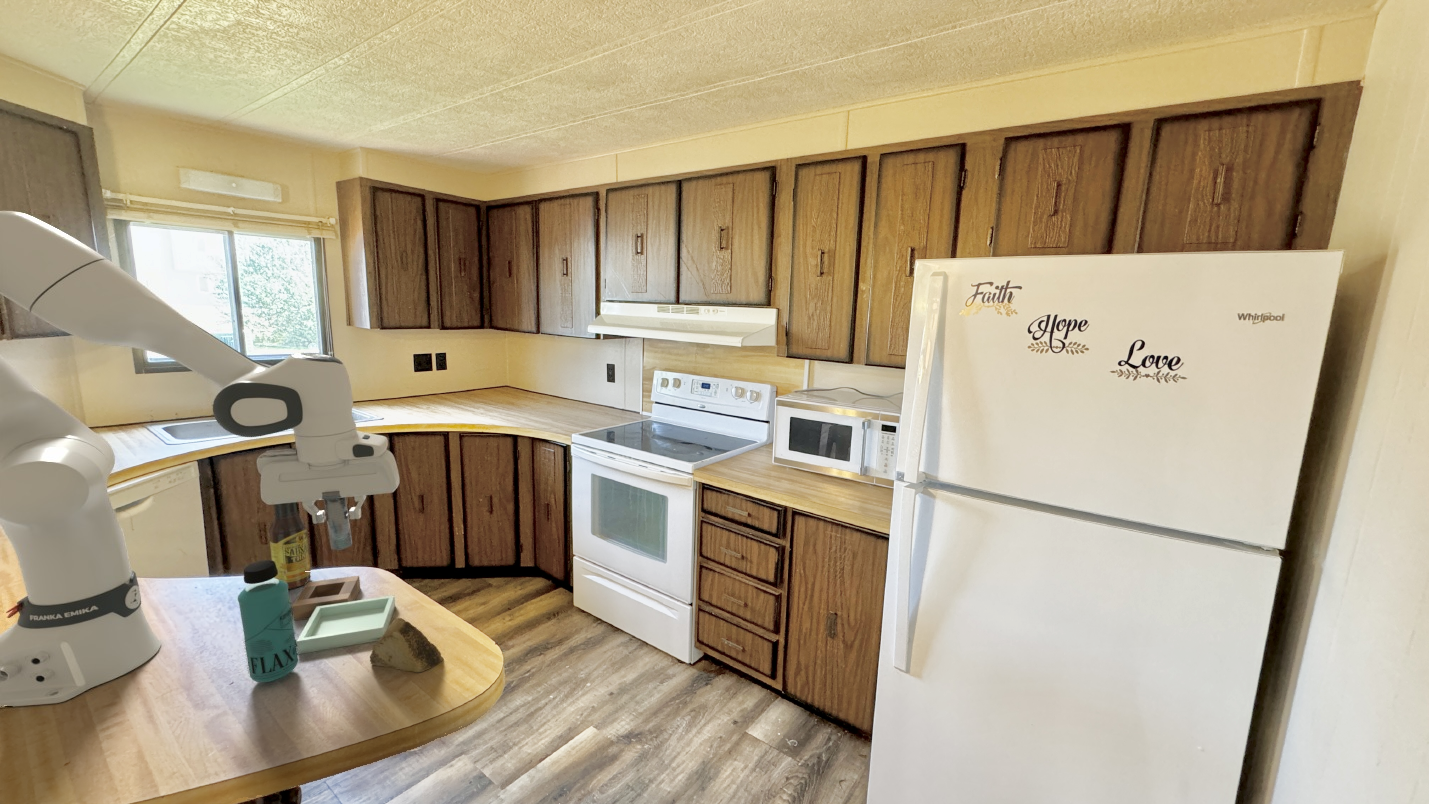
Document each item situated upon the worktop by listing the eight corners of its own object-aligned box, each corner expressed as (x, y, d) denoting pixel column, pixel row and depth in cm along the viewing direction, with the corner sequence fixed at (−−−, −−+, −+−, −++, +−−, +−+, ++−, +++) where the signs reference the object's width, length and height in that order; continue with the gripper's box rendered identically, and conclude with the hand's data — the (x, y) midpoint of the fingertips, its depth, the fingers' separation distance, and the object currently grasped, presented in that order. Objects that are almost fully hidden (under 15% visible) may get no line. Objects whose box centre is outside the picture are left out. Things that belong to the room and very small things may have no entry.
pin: (323, 553, 97) (314, 494, 95) (330, 542, 101) (322, 484, 99) (353, 549, 99) (345, 491, 96) (359, 538, 103) (352, 481, 100)
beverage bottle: (245, 696, 85) (225, 579, 81) (256, 670, 91) (238, 559, 87) (297, 684, 88) (280, 570, 84) (304, 659, 94) (289, 551, 90)
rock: (347, 659, 91) (375, 677, 85) (373, 606, 94) (403, 620, 89) (406, 667, 99) (436, 684, 93) (428, 618, 102) (459, 631, 97)
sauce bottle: (292, 593, 113) (279, 502, 109) (267, 589, 115) (253, 499, 110) (320, 577, 120) (309, 491, 115) (296, 573, 121) (284, 488, 117)
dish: (298, 654, 95) (296, 641, 95) (318, 618, 105) (316, 606, 105) (384, 639, 100) (383, 627, 99) (395, 606, 110) (394, 595, 109)
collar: (294, 620, 104) (292, 606, 104) (309, 595, 113) (307, 582, 112) (349, 612, 108) (347, 598, 107) (360, 588, 116) (359, 575, 115)
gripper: (246, 456, 89) (260, 535, 92) (390, 446, 96) (398, 519, 99) (262, 445, 95) (274, 520, 98) (396, 436, 102) (404, 506, 105)
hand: (337, 519), depth 99 cm, fingers closed on pin, 4 cm apart
